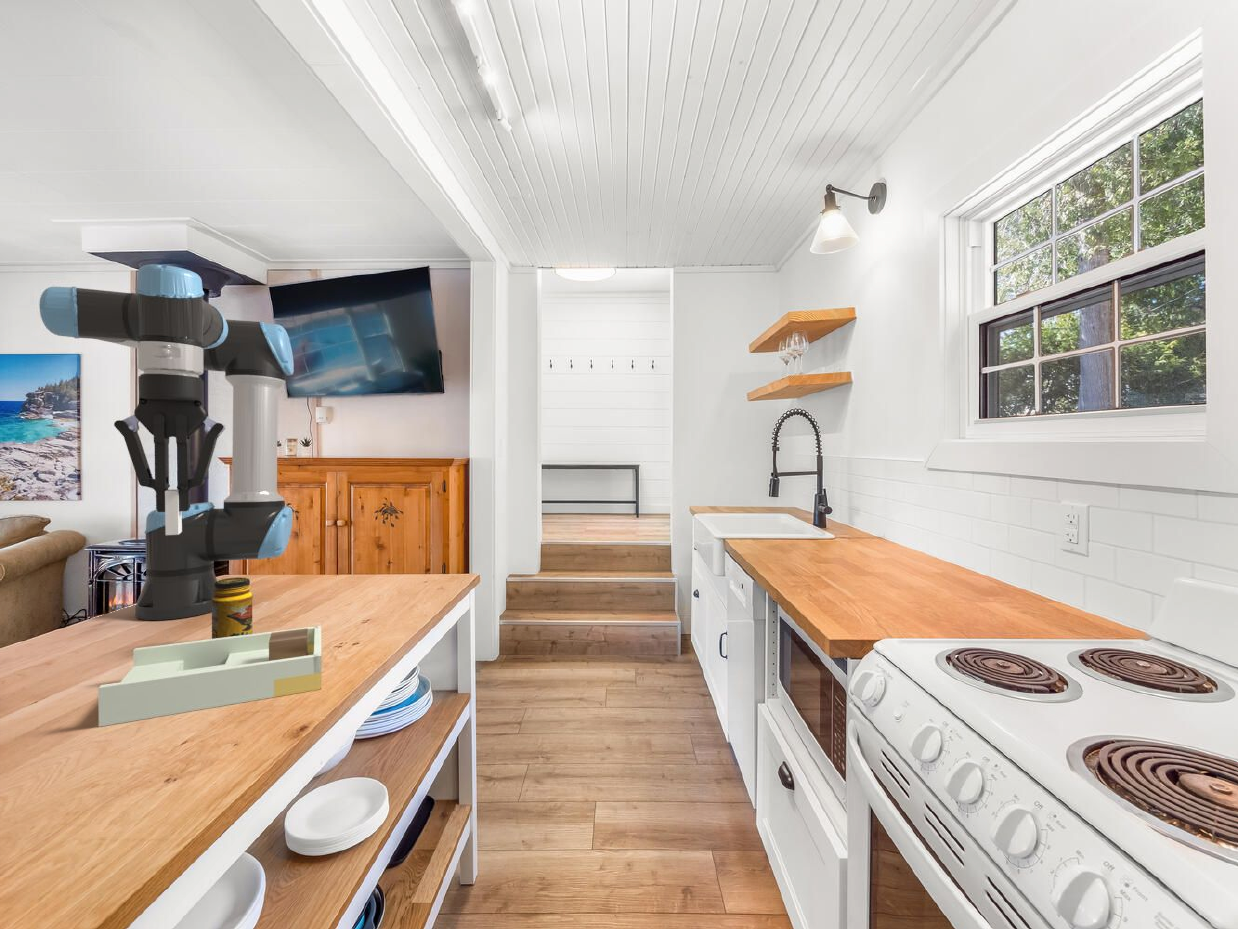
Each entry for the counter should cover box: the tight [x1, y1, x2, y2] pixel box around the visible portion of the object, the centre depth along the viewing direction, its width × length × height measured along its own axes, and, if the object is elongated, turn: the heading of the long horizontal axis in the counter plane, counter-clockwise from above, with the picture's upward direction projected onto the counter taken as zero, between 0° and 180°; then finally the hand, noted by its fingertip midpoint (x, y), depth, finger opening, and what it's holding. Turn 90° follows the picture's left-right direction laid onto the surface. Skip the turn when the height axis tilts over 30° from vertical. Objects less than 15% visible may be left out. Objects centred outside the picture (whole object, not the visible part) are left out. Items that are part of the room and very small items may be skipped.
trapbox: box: [97, 625, 322, 728], centre depth 84 cm, size 16×25×5 cm, turn 118°
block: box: [269, 627, 308, 661], centre depth 87 cm, size 5×5×4 cm
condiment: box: [211, 576, 254, 639], centre depth 100 cm, size 7×8×12 cm
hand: (173, 533), depth 83 cm, fingers closed
